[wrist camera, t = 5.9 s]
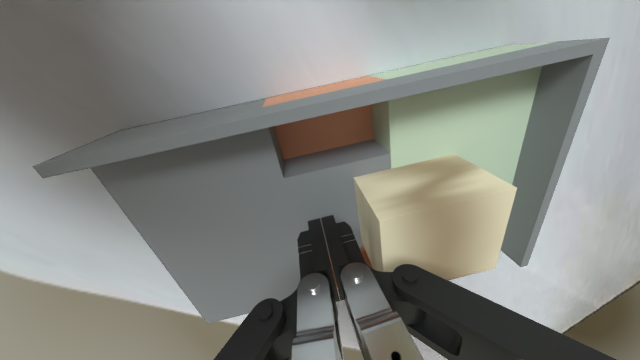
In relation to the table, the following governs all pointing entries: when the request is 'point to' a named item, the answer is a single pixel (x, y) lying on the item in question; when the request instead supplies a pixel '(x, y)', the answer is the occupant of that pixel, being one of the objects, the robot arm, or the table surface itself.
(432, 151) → the box
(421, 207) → the birch block
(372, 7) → the table surface
